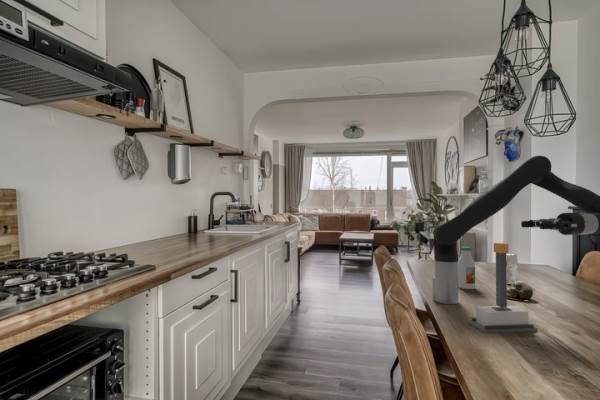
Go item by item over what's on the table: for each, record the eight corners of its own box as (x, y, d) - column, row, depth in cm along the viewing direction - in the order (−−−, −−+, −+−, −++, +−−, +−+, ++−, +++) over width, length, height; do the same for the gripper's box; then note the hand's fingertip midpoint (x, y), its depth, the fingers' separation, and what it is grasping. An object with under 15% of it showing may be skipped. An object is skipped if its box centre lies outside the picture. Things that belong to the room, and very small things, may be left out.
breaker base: (517, 321, 120) (517, 303, 120) (537, 331, 111) (537, 312, 111) (468, 323, 119) (468, 305, 119) (484, 332, 110) (483, 313, 110)
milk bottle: (459, 289, 165) (459, 247, 165) (456, 285, 172) (455, 245, 172) (477, 290, 163) (476, 248, 163) (473, 286, 170) (472, 246, 171)
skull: (499, 297, 148) (501, 276, 153) (503, 308, 153) (505, 288, 159) (533, 301, 140) (534, 279, 146) (536, 313, 146) (536, 292, 151)
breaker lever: (502, 304, 117) (502, 242, 117) (509, 307, 113) (508, 243, 114) (494, 304, 116) (493, 242, 117) (500, 307, 113) (499, 244, 113)
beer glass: (503, 281, 180) (502, 252, 181) (518, 283, 176) (518, 254, 176) (500, 283, 175) (500, 254, 175) (516, 285, 171) (516, 255, 171)
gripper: (559, 212, 124) (516, 213, 123) (595, 213, 109) (546, 214, 109) (560, 232, 124) (516, 234, 123) (596, 236, 109) (547, 238, 108)
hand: (530, 225), depth 116 cm, fingers open, 8 cm apart
